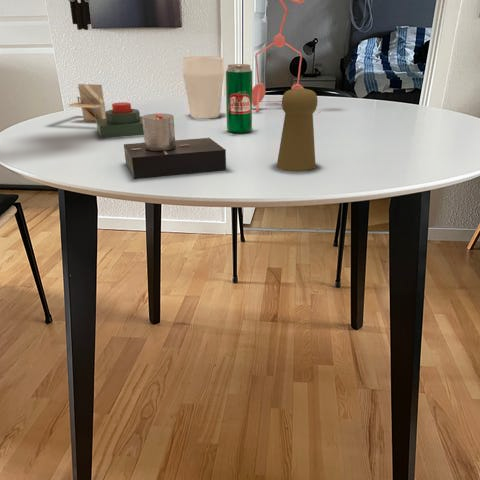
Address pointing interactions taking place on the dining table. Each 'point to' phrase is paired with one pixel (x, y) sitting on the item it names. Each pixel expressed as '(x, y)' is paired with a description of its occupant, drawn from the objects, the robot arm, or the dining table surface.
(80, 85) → the architectural model
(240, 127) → the soda can
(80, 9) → the robot arm
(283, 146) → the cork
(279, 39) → the pink branching rod frame
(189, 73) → the cup
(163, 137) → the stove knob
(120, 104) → the button
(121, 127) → the block
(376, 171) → the dining table surface
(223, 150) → the panel
